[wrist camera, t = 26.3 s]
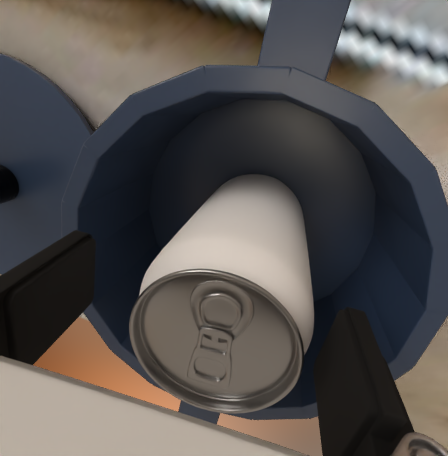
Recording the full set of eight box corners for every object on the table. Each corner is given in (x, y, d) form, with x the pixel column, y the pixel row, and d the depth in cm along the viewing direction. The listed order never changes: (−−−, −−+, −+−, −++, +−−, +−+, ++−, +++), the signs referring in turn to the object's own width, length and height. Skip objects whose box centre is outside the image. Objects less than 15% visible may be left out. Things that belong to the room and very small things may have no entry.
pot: (130, 306, 26) (63, 390, 18) (162, 4, 17) (57, -82, 9) (320, 368, 24) (334, 489, 17) (465, 66, 15) (641, 24, 8)
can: (315, 182, 19) (349, 289, 8) (290, 271, 21) (290, 445, 10) (214, 163, 19) (116, 233, 8) (202, 250, 22) (115, 391, 11)
